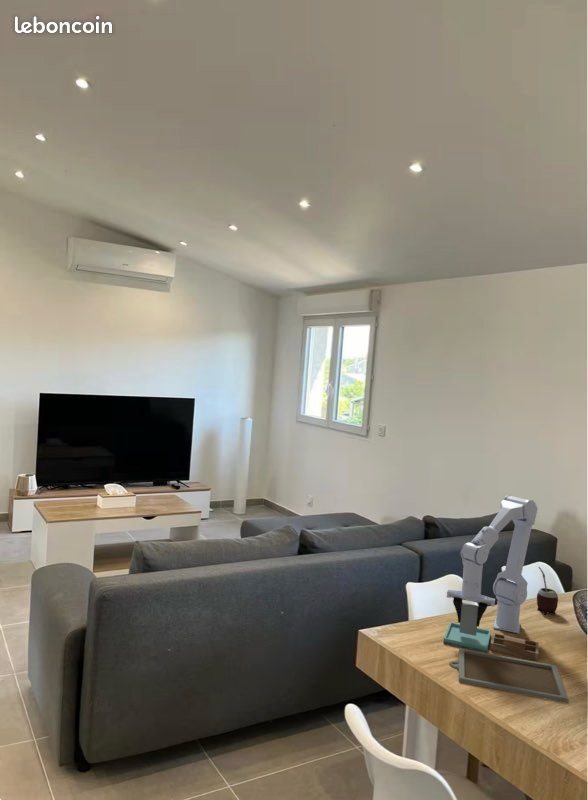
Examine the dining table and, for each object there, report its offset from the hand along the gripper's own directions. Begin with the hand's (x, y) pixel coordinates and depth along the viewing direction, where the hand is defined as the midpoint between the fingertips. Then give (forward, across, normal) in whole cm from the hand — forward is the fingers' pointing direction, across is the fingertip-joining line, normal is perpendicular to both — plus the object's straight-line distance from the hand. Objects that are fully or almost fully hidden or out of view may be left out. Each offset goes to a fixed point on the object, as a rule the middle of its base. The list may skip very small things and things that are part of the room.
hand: (468, 623), depth 188 cm
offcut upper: (+3, +14, -2) cm, 14 cm away
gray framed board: (+6, +12, -18) cm, 23 cm away
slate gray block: (+3, 0, 0) cm, 3 cm away
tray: (+5, 0, 0) cm, 5 cm away
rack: (+5, +14, -1) cm, 15 cm away
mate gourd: (+5, +23, +40) cm, 46 cm away
